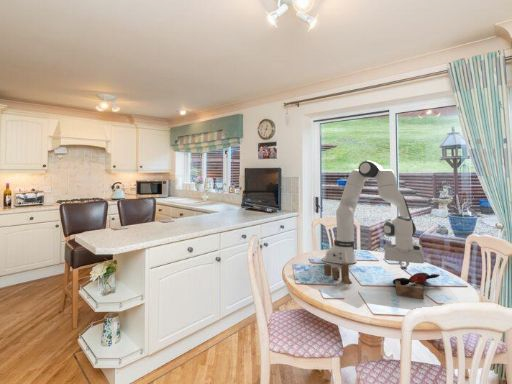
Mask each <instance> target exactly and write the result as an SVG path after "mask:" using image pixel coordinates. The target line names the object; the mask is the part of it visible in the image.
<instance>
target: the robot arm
mask: <svg viewBox="0 0 512 384" xmlns="http://www.w3.org/2000/svg"><path fill="white" fill-rule="evenodd" d="M366 181H376V184H377V191H378V195H379V197H380V199H382V200H383V201H385V202H387V203H390V204H392V205H394V206H396V209H397V211H398V213H399V216H397V217H395V219H392V220H388V221H387V220H386V221H385V223H384V224H383V227H382V230H383V233H384V234H385V235H386V236H387V237H388V238H389V237H390V238H394V241H395V242H394V244H389V243H386V244H385V245H383V251H384V253H383V254H384V258H383V259H384V260H385V261H391V262H398V265H399V267H400V270H406V271H407V269H408V266H409V265H410V263H413V264H421V265H422V264H425V261H426V260H425V253H424V251H423V246H422V245H421V244H419V243H415V242H414V241H413V236H414V235H415V234H416V231H417V226H416V224H415V223H414V221H413V217H412V215H411V213H410V212H411V211H410V209H409V206H408V203H407V200H406V198H405V196H404V195H402V193H401V191H400V190H399V186H398V183H397V182H398V181H397V178H396V176H395V172H394V171H393V170H392V169H388V168H387V169H384V167H383V166H382V165H380V164H379V163H377V162H374V161H372V160H364V161H362V162H361V163H359V166H358V169H353V170H352V171H350V173H349V175H348V177H347V180H346V183H345V186H344V189H343V192H342V195H341V198H340V200H339V201H340V202H339V205H338V207H337V209H336V212H335V215H336V239H334V240H333V245H332V246H331V247H330V248H328V249H327V250H326V252H325V256H323V257H322V259H321V260H322V261H323V262H326V263H327V262H328V263H335V264H340V265H341V263H342V262H347V263H348V265H349V264H355V263H357V258H356V253H355V248H356V242H355V229H354V228H355V223H354V222H355V221H354V217H355V216H354V215H355V211H356V209H357V205H358V202H359V200H360V197H361V195H362V190H363V187H364V185H365V182H366ZM402 262H403V263H405V265H402Z"/></svg>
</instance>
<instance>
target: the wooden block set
mask: <svg viewBox="0 0 512 384" xmlns="http://www.w3.org/2000/svg"><path fill="white" fill-rule="evenodd" d="M349 267H350V266H349V264H348V263H347V262H342V263H341V264H340V268H339V267H338V266H333V267H332V264H328V263H326V264H324V265H323V275H324V276H325V277H331V276H332V277H331V278H332V279H334V280H339V279H340V278H341V282H342V283H343V284H345V285H351V284H353V282H352V281H351V279H350V277H349V276H350V271H349V270H350V269H349ZM340 276H341V277H340Z"/></svg>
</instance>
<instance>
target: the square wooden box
mask: <svg viewBox="0 0 512 384" xmlns="http://www.w3.org/2000/svg"><path fill="white" fill-rule="evenodd" d="M414 284H415V286H413V285H401V283H400V281H396V285H395V292H396V297H403V298H413V299H418V300H419V299H421V300H424V287H422V283H414Z"/></svg>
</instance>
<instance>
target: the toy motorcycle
mask: <svg viewBox="0 0 512 384" xmlns="http://www.w3.org/2000/svg"><path fill="white" fill-rule="evenodd" d="M438 277H440V273H439V274H437V273H431V274H429V273H427V272H417V273H414V274H413V275H411V276H410V277H409V278H406V277H398V278H394V279H393V280H392V284H394V285H395V286H396V281H400V283H401V285H406V286H408V285H409V284H415V283H420V284H423V283H425V282H427V280H430V279H437V278H438Z"/></svg>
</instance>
